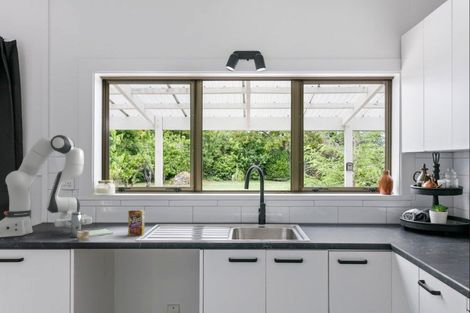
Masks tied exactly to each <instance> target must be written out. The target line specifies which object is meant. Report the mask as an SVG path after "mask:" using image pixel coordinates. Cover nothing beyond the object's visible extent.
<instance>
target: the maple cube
mask: <svg viewBox="0 0 470 313" xmlns="http://www.w3.org/2000/svg"><path fill="white" fill-rule="evenodd" d="M89 231H90V230H87V229H86V230H85V229H84V230H81V231H77V237H76V241H78V242H85V241H89V240H90V237H89Z"/></svg>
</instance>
